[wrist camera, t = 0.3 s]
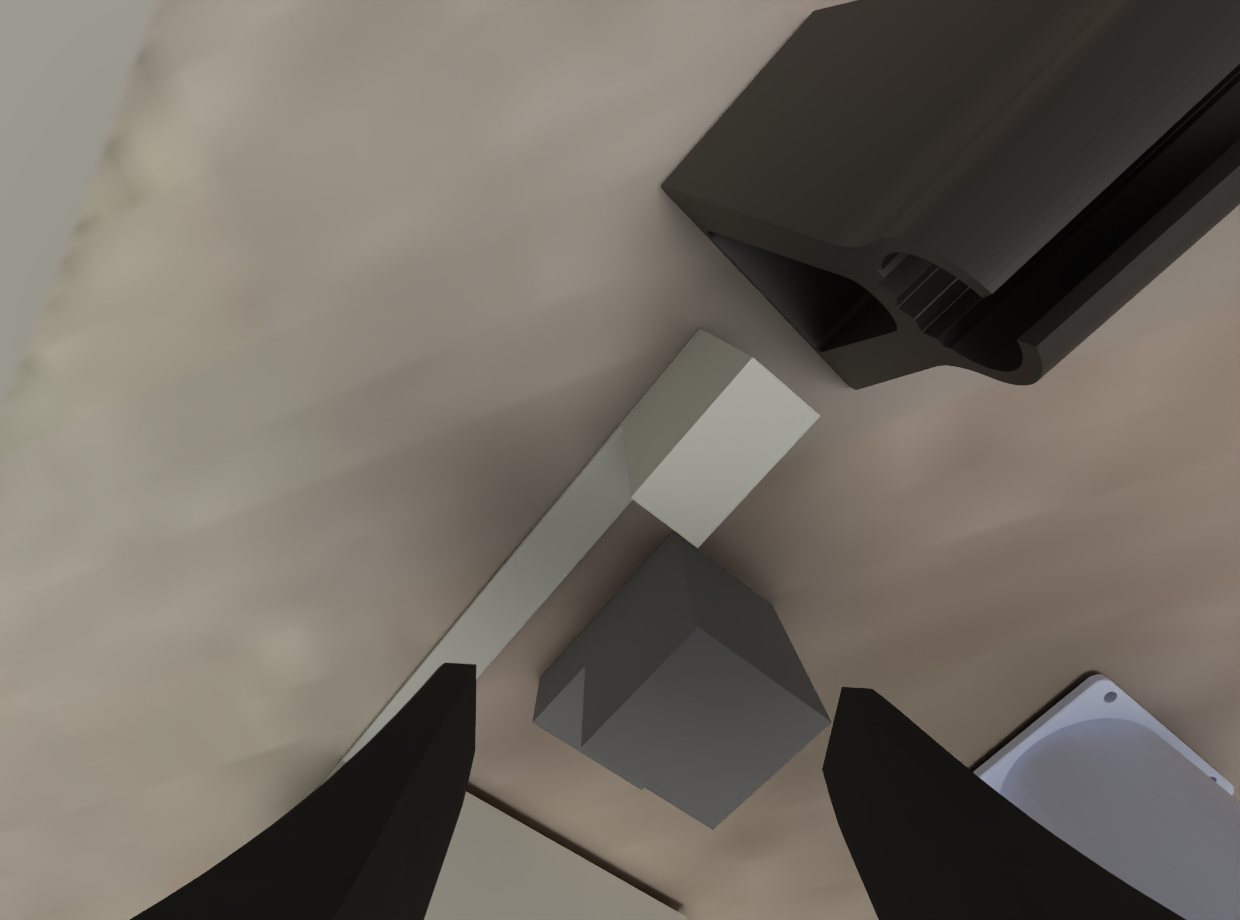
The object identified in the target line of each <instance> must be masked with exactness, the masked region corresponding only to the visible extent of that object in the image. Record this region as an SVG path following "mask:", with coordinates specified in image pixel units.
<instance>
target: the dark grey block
mask: <svg viewBox="0 0 1240 920" xmlns="http://www.w3.org/2000/svg"><path fill="white" fill-rule="evenodd" d="M533 723H534V724H536V725H538V726H539V727H541V728H542V729H544V730H546V731H547V732H549V733H551V734H552V735H554V736H555V737H557V738H559V739H560V740H562V741H564V742H565V743H567V744H568V745H570V746H572V747H573V748H575V749H576V750H578V751H580V752H581V753H583V754H585V755H586V756H588V757H589V758H591V759H593V760H594V761H596V762H597V763H599V764H601V765H602V766H604V767H606V768H607V769H609V770H610V771H612V772H614V773H615V774H617V775H618V776H620V777H622V778H623V779H625V780H627V781H628V782H630V783H631V784H633V785H635V786H636V787H638V788H639V789H641V790H642V789H643V788H644V787H645V788H647V789H648V790H650V791H651V792H653V793H655V794H656V795H658V796H659V797H661V798H663V799H664V800H666V801H667V802H669V803H671V804H672V805H674V806H676V807H677V808H679V809H680V810H682V811H684V812H685V813H687V814H688V815H690V816H692V817H693V818H695V819H696V820H698V821H700V822H701V823H703V824H705V825H706V826H708V827H709V828H711V829H714V828H715V827H716V826H717V825H718V824H720V823H721V822H722V821H723V820H724V819H725V818H726V817H727V816H728V815H729V814H731V813H732V812H733V811H734V810H735V809H736V808H737V807H738V806H739V805H741V804H742V803H743V802H744V801H745V800H746V799H747V798H748V797H749V796H750V795H752V794H753V793H754V792H755V791H756V790H757V789H758V788H759V787H760V786H761V785H763V784H764V783H765V782H766V781H767V780H768V779H769V778H770V777H771V776H772V775H774V774H775V773H776V772H777V771H778V770H779V769H780V768H781V767H782V766H784V765H785V764H786V763H787V762H788V761H789V760H790V759H791V758H792V757H793V756H795V755H796V754H797V753H798V752H799V751H800V750H801V749H802V748H803V747H804V746H806V745H807V744H808V743H809V742H810V741H811V740H812V739H813V738H814V737H816V736H817V735H818V734H819V733H820V732H821V731H822V730H823V729H824V728H825V727H827V726H828V725H829V724H830V723H831V720H830V718H829V716H828V714H827V712H826V711H825V709H824V707H823V705H822V703H821V701H820V699H819V697H818V695H817V693H816V691H815V689H814V687H813V685H812V683H811V681H810V679H809V677H808V675H807V673H806V671H805V669H804V667H803V665H802V663H801V661H800V659H799V657H798V655H797V653H796V651H795V649H794V647H793V645H792V643H791V641H790V639H789V637H788V635H787V633H786V631H785V630H784V628H783V626H782V624H781V622H780V620H779V618H778V616H777V614H776V612H775V610H774V608H773V606H772V605H771V604H769V603H768V602H767V601H765V600H764V599H763V598H761V597H760V596H759V595H757V594H756V593H755V592H753V591H752V590H751V589H749V588H748V587H747V586H745V585H744V584H743V583H741V582H740V581H739V580H737V579H736V578H735V577H733V576H732V575H731V574H729V573H728V572H727V571H725V570H724V569H723V568H721V567H720V566H719V565H717V564H716V563H715V562H713V561H712V560H711V559H709V558H708V557H707V556H705V555H704V554H703V553H701V552H700V551H699V550H697V549H696V548H695V547H693V546H692V545H691V544H689V543H688V542H687V541H685V540H684V539H683V538H681V537H680V536H679V535H677V534H676V533H675V532H673V531H672V532H671V533H670V535H669V536H668V537H667V538H666V539H665V540H664V541H663V542H662V543H661V545H660V546H659V547H658V548H657V549H656V550H655V551H654V552H653V553H652V554H651V556H650V557H649V558H648V559H647V560H646V561H645V562H644V563H643V564H642V565H641V567H640V568H639V569H638V570H637V571H636V572H635V573H634V574H633V575H632V577H631V578H630V579H629V580H628V581H627V582H626V583H625V584H624V585H623V586H622V588H621V589H620V590H619V591H618V592H617V593H616V594H615V595H614V596H613V597H612V599H611V600H610V601H609V602H608V603H607V604H606V605H605V606H604V607H603V609H602V610H601V611H600V612H599V613H598V614H597V615H596V616H595V617H594V618H593V620H592V621H591V622H590V623H589V624H588V625H587V626H586V627H585V628H584V629H583V631H582V632H581V633H580V634H579V635H578V636H577V637H576V638H575V639H574V641H573V642H572V643H571V644H570V645H569V646H568V647H567V648H566V649H565V650H564V652H563V653H562V654H561V655H560V656H559V657H558V658H557V659H556V660H555V661H554V663H553V664H552V665H551V666H550V667H549V668H548V669H547V670H546V671H545V673H544V674H543V675H542V676H541V677H540V680H539V686H538V692H537V699H536V705H535V711H534V717H533Z"/></svg>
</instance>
